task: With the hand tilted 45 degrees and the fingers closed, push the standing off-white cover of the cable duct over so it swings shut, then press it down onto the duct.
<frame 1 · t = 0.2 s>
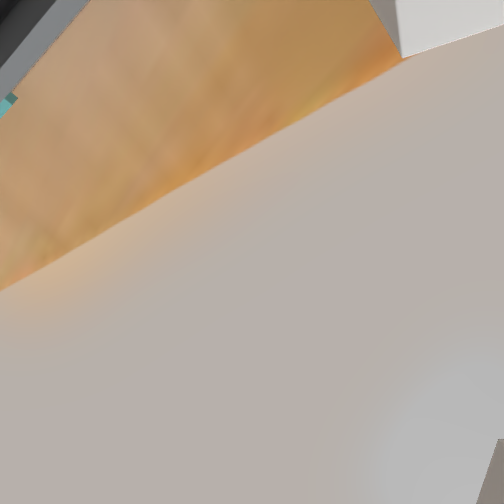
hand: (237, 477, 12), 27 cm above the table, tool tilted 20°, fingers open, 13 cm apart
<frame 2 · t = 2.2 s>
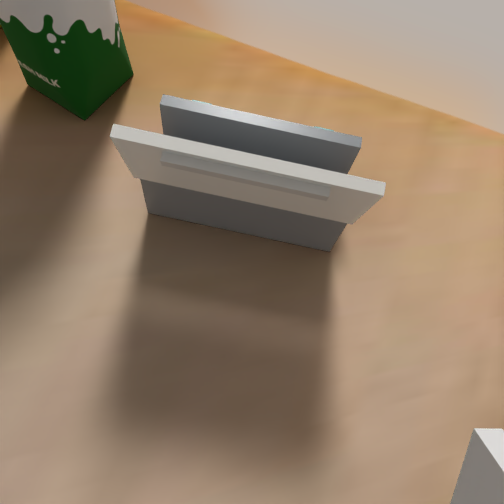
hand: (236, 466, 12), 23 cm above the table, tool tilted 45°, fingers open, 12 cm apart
duct: (246, 197, 42), on the table
milk carton: (82, 80, 46), on the table
cover: (245, 184, 30), point 11 cm above the table, hinge at 103.0°
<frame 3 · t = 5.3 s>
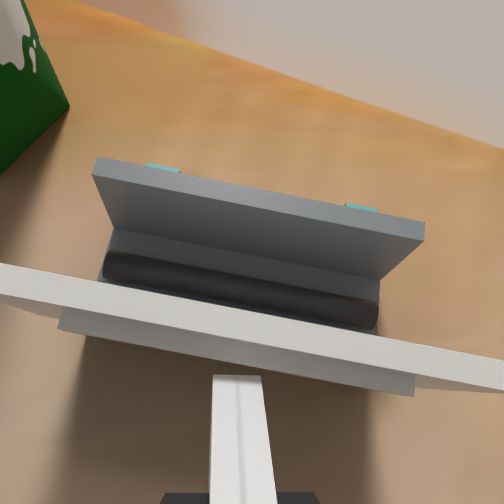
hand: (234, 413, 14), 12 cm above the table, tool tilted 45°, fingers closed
duct: (239, 299, 28), on the table
cover: (237, 344, 16), point 11 cm above the table, hinge at 97.1°, touching gripper
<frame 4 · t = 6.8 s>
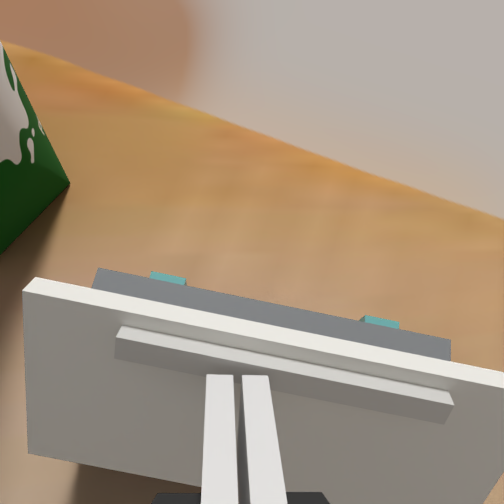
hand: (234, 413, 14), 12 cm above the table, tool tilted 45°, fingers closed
duct: (247, 400, 26), on the table
cover: (266, 425, 16), point 10 cm above the table, hinge at 50.4°, touching gripper
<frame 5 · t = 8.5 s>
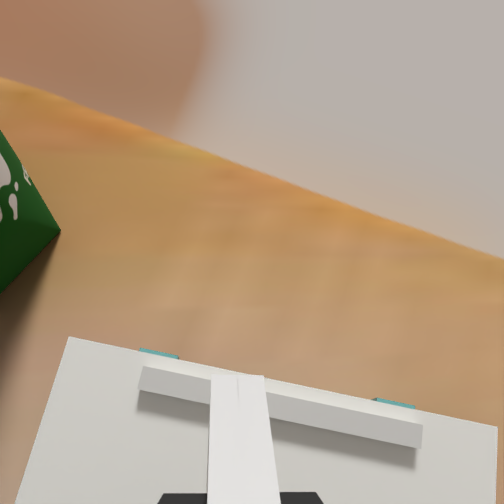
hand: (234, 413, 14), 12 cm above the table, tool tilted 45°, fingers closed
cover: (265, 485, 16), point 8 cm above the table, hinge at 5.1°
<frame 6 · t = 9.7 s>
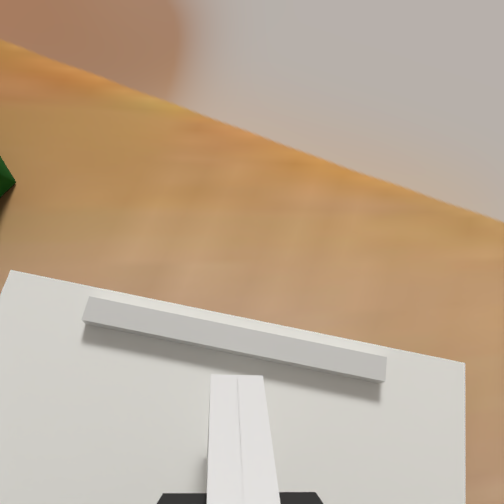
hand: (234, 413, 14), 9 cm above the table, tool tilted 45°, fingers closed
cover: (219, 423, 15), point 8 cm above the table, hinge at 0.3°, touching gripper
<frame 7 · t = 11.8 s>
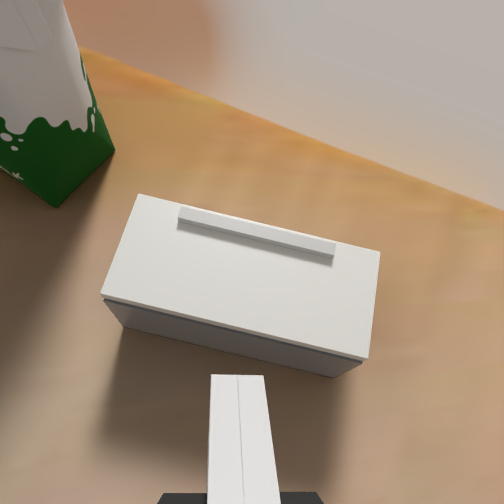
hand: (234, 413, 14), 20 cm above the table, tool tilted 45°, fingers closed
duct: (239, 307, 36), on the table
milk carton: (57, 157, 40), on the table
cover: (247, 272, 29), point 8 cm above the table, hinge at -2.5°, touching duct
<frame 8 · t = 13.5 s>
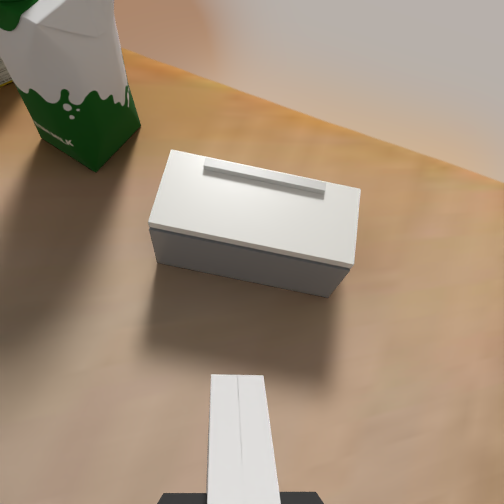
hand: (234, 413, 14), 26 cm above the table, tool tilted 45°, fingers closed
duct: (249, 246, 45), on the table
milk carton: (93, 132, 48), on the table
cover: (258, 205, 37), point 8 cm above the table, hinge at -2.5°, touching duct
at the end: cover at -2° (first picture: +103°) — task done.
